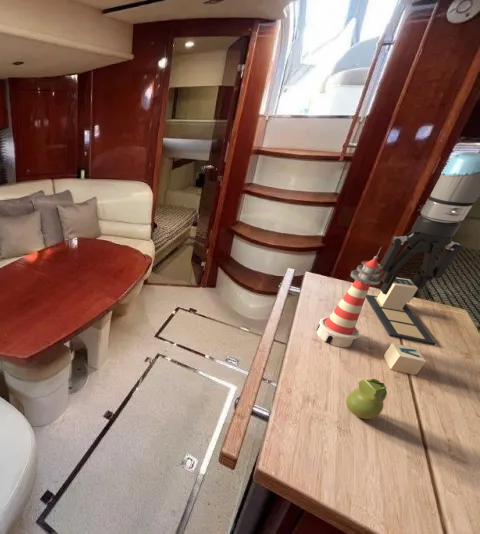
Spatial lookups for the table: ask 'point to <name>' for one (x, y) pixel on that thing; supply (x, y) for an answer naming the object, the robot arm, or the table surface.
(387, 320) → the word mat
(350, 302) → the miniature lighthouse
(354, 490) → the table surface
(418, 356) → the cream letter cube
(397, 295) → the letter E
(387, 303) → the letter S
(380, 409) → the green rounded piece
